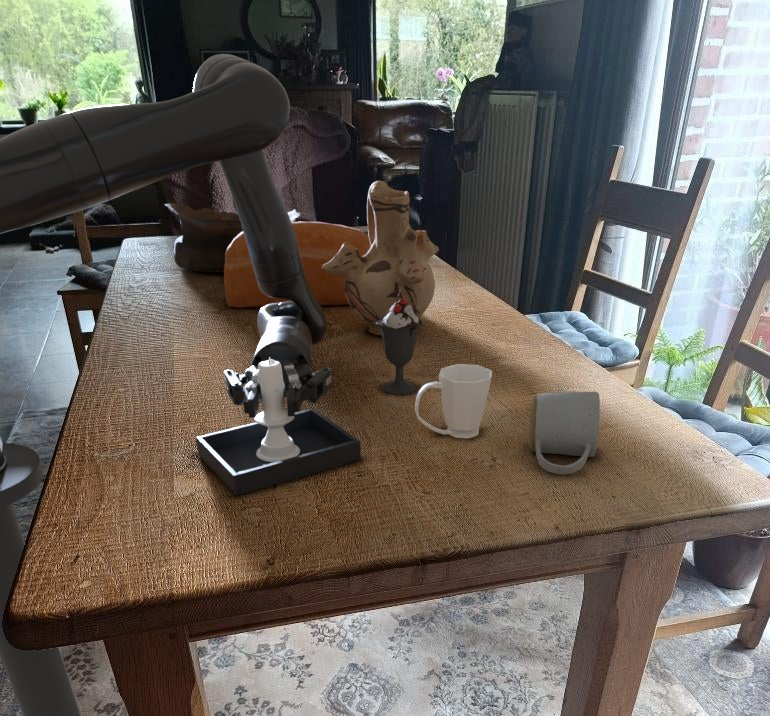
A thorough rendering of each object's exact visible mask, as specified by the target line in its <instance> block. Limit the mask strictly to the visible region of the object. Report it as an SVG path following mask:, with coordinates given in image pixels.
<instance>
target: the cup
mask: <svg viewBox="0 0 770 716" xmlns="http://www.w3.org/2000/svg"><path fill="white" fill-rule="evenodd" d="M492 376H493V370H492V369H489V368H487V367H484V366H482V365H479V364H467V363H456V364H452V365H448V366H445V367H441V368H440V371H439V374H438V381H431V382H426V383H425V384H423V385H422V387H421V388H420V389H419V390H418V391H417V394H416V397H415V401H414V413H415V415H416V419H418V420H419V422H421V423H422V424H423V426H425V427H427V428H429V429H430V430H432V431H433V432H435V433H438V434H441V435H449V436H451V437H453V438H455V439H456V438H457V439H470V438H471V439H472V438H474V437H477V436H479V431H480V426H481V423H482V421H483V416H484V414H485V411H486V410H485V409H486V405H487V399H488V395H489V390H490V386H491V382H492ZM430 388H432V389H433V388H434V389H440V397H441V406H442V412H443V416H444V420H445V425H446V426H447V427H446V428H447V429H441V428H438V427H435V426H433V425H432V424H431V423H429V422H427V421H426V420H424V419H423V418H422V417H421V416H420V413H419V408H420V407H419V406H420V402H421V399H422V398H421V397H422V396H423V395H424V393H425V392H426V391H427V390H428V389H430Z"/></svg>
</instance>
